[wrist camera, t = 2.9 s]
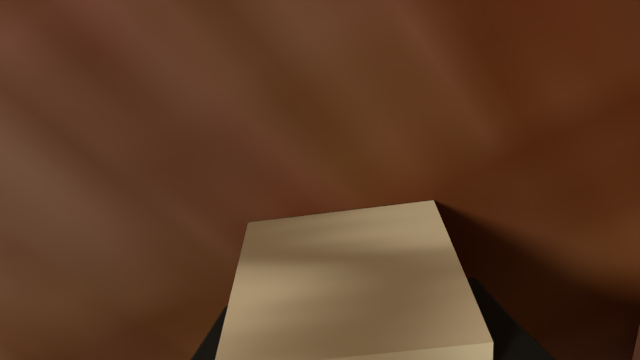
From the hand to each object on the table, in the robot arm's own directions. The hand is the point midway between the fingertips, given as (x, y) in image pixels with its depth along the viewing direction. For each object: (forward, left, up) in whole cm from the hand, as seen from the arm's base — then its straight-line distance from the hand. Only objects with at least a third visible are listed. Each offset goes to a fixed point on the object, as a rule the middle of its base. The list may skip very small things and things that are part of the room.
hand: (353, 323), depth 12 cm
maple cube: (0, 0, -1) cm, 1 cm away
